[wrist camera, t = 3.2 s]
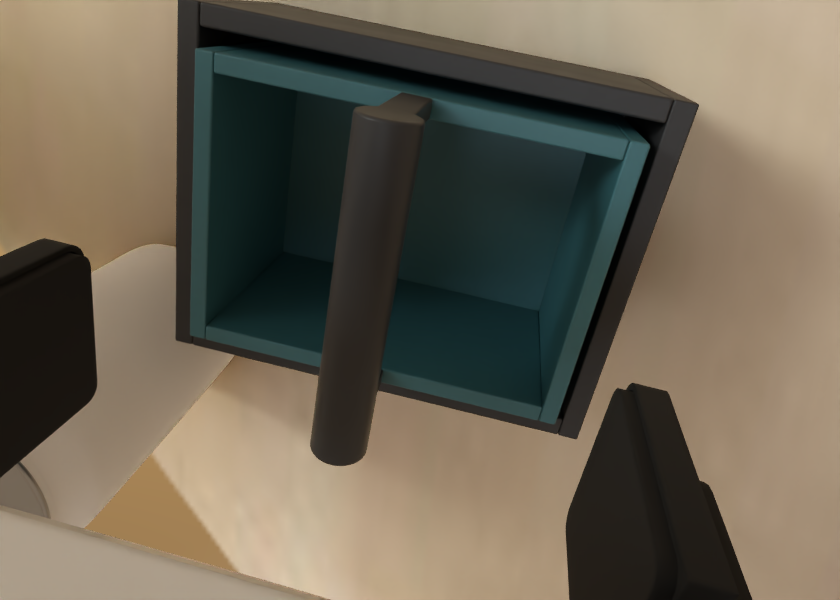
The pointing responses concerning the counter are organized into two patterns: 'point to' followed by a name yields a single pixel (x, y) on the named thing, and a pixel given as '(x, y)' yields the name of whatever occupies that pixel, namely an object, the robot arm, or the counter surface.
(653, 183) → the lower bin
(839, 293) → the counter surface
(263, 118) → the top bin
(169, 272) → the can
